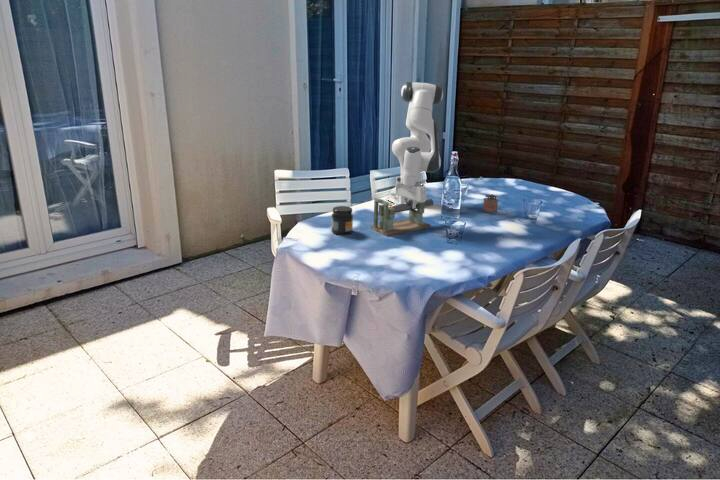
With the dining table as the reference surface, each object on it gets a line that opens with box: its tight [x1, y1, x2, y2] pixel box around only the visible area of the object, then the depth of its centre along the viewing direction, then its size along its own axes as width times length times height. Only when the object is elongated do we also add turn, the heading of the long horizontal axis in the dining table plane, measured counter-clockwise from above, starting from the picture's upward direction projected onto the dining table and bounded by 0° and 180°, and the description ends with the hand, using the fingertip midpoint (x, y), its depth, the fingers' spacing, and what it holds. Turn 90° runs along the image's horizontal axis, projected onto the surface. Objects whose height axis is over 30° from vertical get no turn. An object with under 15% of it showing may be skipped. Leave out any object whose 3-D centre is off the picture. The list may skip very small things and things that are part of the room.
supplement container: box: [331, 205, 354, 236], centre depth 270 cm, size 10×10×12 cm
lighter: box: [482, 193, 499, 214], centre depth 311 cm, size 8×3×10 cm, turn 84°
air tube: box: [388, 198, 434, 214], centre depth 279 cm, size 28×4×4 cm, turn 125°
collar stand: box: [370, 197, 431, 237], centre depth 277 cm, size 13×28×16 cm, turn 125°
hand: (410, 207), depth 279 cm, fingers closed on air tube, 4 cm apart
